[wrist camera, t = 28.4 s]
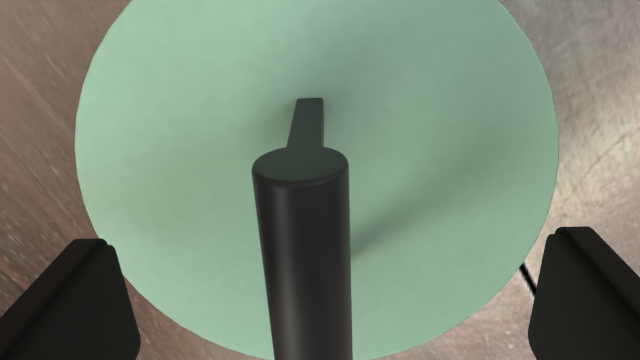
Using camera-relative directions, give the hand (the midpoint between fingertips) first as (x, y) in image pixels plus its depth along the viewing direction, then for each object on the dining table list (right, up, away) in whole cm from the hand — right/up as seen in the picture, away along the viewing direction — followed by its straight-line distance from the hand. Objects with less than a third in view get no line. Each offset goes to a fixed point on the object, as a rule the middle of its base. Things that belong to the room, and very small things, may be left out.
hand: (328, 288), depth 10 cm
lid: (0, +2, +4) cm, 4 cm away
